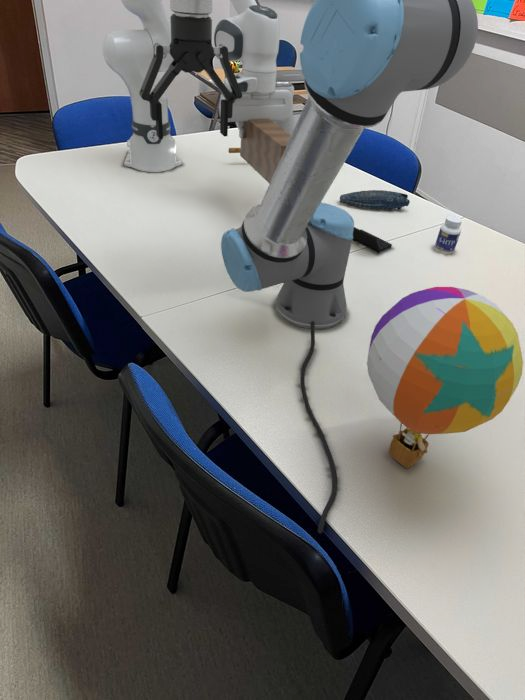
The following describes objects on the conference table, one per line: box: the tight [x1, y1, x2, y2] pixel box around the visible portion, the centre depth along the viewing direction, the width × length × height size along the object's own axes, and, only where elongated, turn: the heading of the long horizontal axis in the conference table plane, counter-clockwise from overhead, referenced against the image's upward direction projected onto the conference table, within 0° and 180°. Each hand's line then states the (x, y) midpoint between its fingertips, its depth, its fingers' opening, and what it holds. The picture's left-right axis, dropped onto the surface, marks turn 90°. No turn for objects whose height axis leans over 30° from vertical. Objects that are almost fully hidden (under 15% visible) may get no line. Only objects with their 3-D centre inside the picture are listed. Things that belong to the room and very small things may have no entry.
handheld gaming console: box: [352, 226, 393, 254], centre depth 138 cm, size 12×7×10 cm
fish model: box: [339, 189, 411, 211], centre depth 158 cm, size 7×21×5 cm, turn 84°
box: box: [239, 119, 291, 184], centre depth 136 cm, size 26×6×11 cm, turn 23°
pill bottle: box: [434, 215, 463, 255], centre depth 137 cm, size 5×5×9 cm
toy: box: [366, 286, 524, 469], centre depth 73 cm, size 20×20×30 cm
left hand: (255, 137), depth 142 cm, fingers closed on box, 6 cm apart
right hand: (192, 135), depth 107 cm, fingers open, 13 cm apart
